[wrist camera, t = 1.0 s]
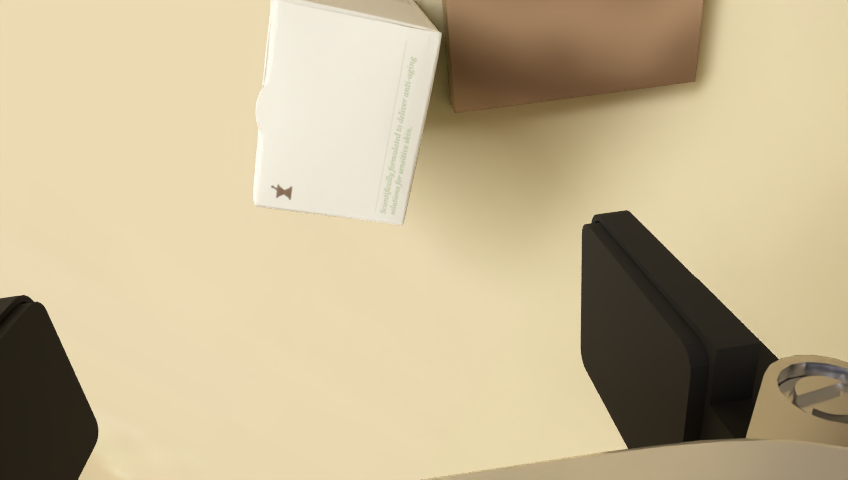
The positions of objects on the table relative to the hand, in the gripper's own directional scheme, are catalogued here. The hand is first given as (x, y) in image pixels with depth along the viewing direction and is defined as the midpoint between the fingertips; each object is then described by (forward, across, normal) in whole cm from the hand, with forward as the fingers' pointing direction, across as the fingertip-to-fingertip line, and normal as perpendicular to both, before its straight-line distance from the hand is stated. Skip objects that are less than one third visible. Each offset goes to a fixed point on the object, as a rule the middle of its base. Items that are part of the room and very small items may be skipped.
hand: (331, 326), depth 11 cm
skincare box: (+30, 0, 0) cm, 30 cm away
